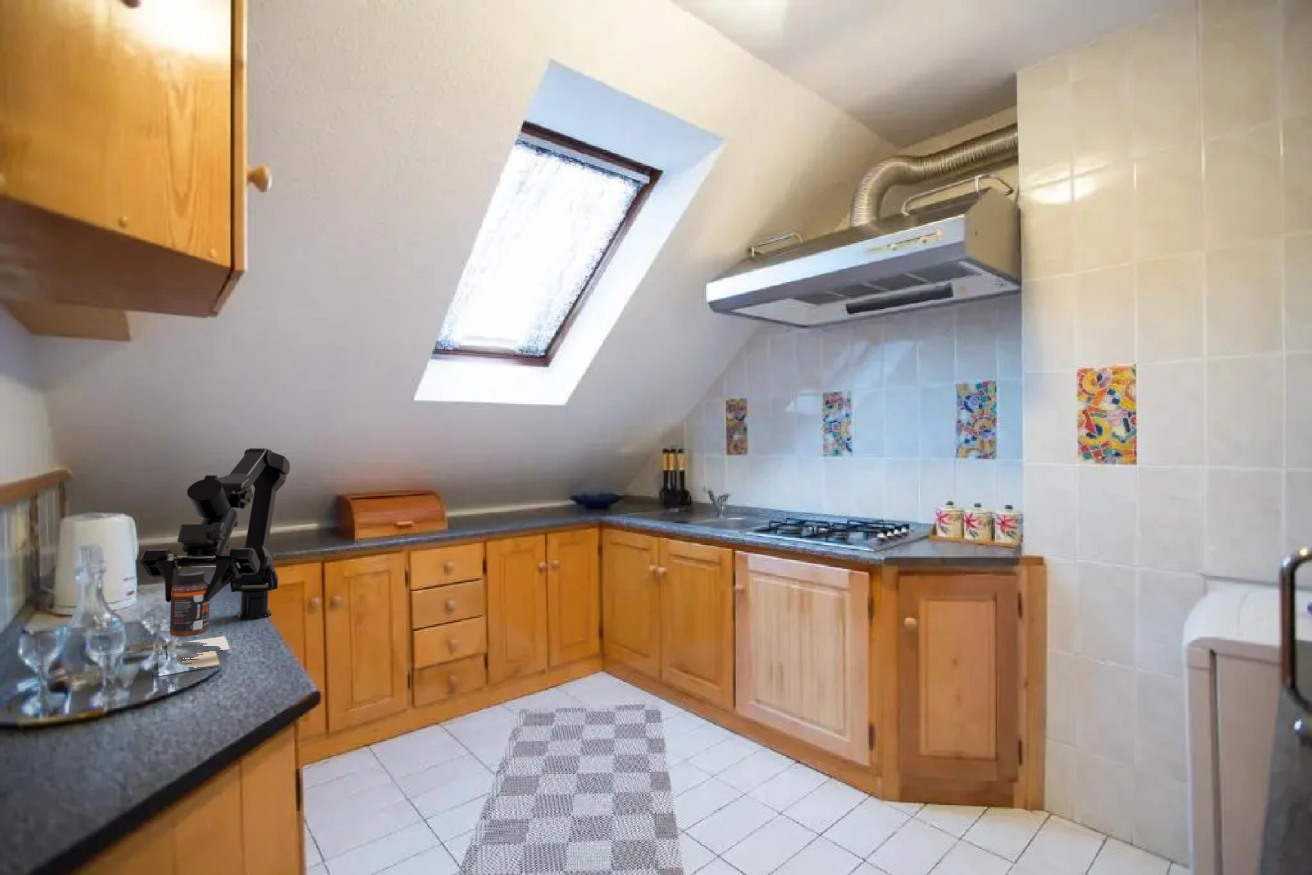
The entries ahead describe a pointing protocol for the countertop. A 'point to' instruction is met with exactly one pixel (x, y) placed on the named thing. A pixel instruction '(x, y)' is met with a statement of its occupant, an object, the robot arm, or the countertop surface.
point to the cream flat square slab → (215, 642)
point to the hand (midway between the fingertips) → (186, 600)
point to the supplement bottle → (189, 605)
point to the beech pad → (203, 660)
